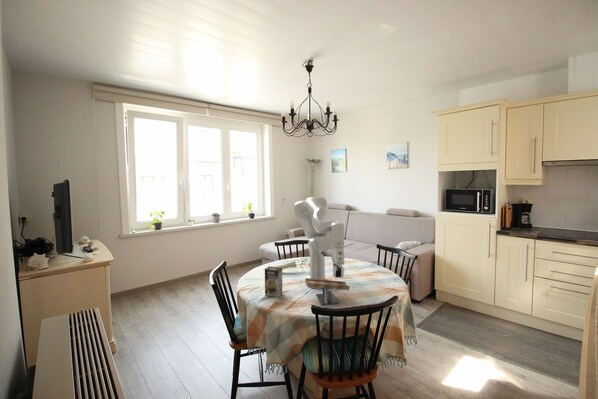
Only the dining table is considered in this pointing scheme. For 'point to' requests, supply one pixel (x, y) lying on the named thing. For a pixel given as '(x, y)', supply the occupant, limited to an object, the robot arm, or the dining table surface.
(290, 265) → the flower vase
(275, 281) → the coffee box
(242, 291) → the dining table surface
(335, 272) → the rider
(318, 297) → the pivot stand
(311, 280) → the beam
